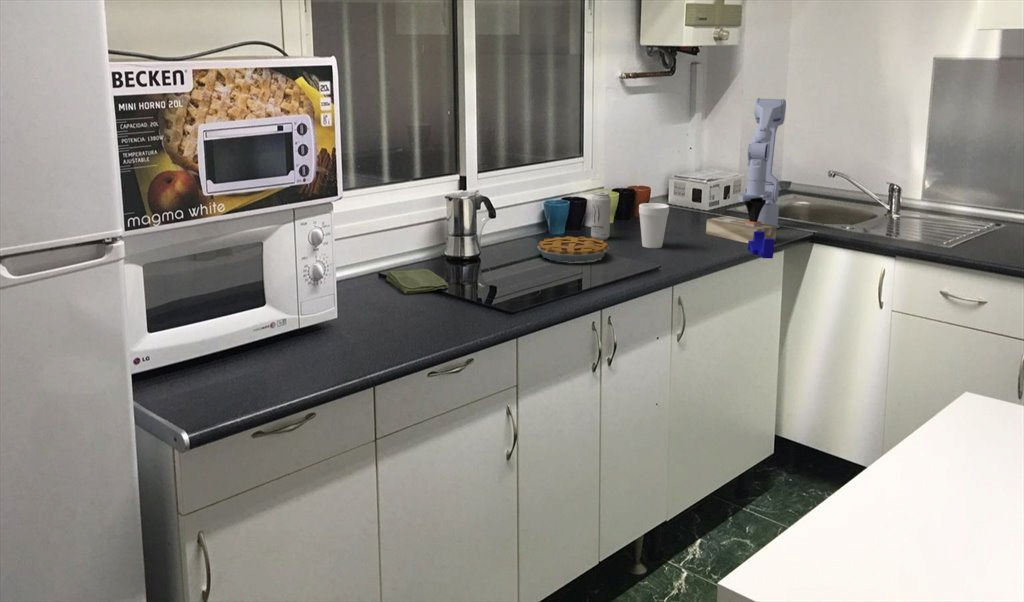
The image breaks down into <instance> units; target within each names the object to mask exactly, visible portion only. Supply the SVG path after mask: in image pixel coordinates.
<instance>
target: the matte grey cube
mask: <svg viewBox="0 0 1024 602" xmlns="http://www.w3.org/2000/svg"><path fill="white" fill-rule="evenodd" d="M723 221H728V222H733V221H737V220H734V219H723Z"/></svg>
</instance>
